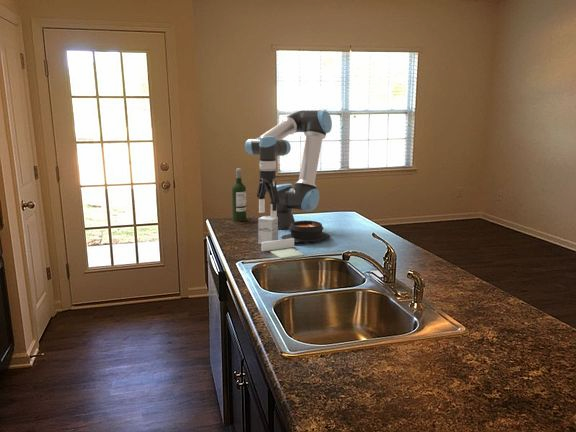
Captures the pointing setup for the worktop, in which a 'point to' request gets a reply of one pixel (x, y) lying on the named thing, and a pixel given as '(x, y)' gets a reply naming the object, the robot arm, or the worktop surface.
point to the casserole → (306, 232)
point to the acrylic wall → (277, 244)
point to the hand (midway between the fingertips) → (267, 215)
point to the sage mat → (286, 253)
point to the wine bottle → (239, 198)
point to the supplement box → (267, 229)
